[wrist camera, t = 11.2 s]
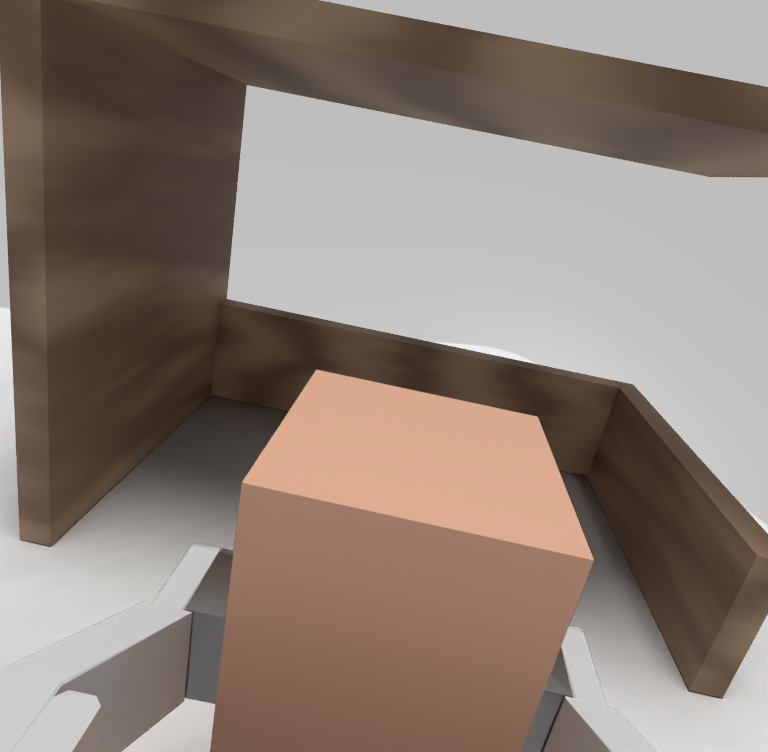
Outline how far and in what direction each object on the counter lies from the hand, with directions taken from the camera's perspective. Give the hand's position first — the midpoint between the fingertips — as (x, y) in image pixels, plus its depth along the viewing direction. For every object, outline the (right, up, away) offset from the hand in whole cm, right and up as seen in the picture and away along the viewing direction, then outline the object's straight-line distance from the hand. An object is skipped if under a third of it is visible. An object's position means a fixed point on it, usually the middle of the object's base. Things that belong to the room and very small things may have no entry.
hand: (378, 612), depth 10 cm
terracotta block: (-1, -6, +1) cm, 6 cm away
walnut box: (0, -2, +19) cm, 19 cm away
